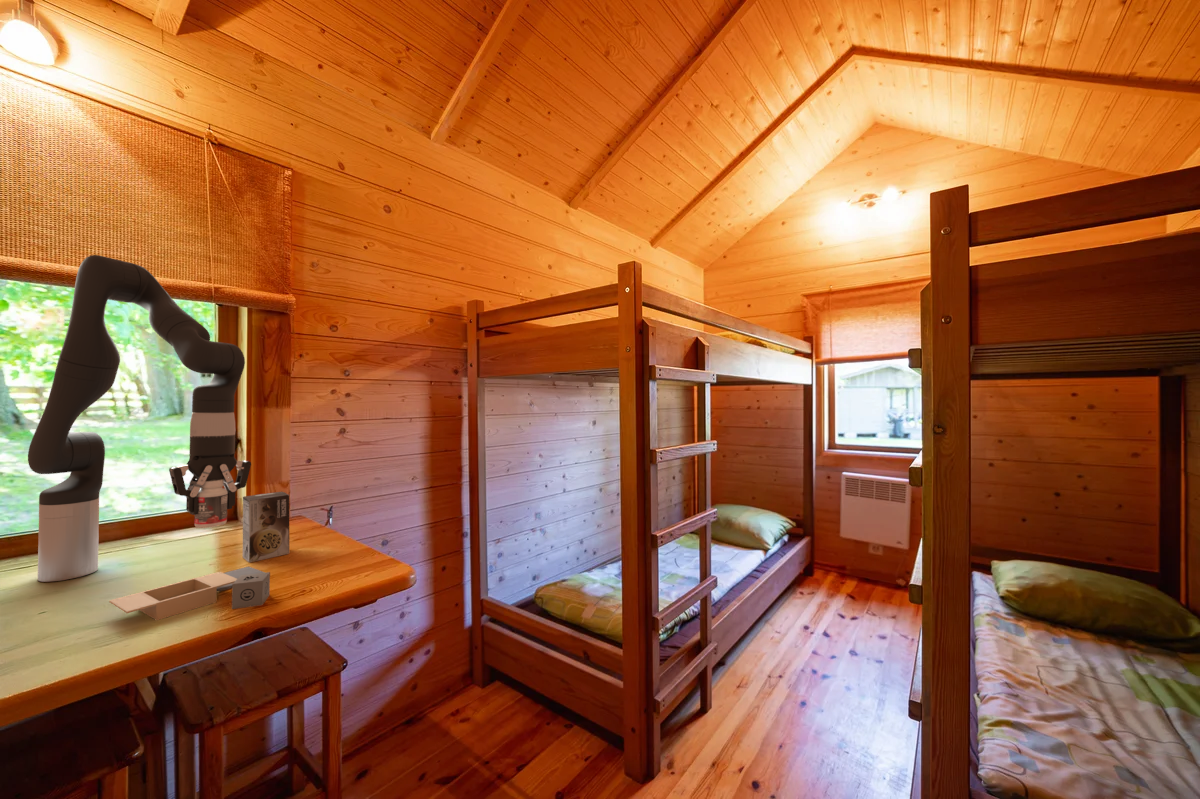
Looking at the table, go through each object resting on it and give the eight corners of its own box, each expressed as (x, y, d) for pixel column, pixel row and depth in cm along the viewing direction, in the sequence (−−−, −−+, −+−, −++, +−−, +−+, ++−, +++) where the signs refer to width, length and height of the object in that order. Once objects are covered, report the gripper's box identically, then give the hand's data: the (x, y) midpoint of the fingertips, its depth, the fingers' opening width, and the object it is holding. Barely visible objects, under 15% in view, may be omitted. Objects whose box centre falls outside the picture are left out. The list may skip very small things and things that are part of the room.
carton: (108, 617, 87) (108, 600, 87) (219, 586, 102) (219, 571, 102) (126, 629, 82) (126, 611, 82) (239, 594, 97) (239, 579, 97)
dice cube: (240, 599, 95) (241, 575, 95) (269, 595, 97) (269, 572, 97) (231, 609, 91) (232, 584, 91) (262, 605, 93) (262, 580, 93)
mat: (197, 582, 103) (197, 580, 103) (248, 568, 112) (248, 566, 112) (217, 591, 98) (217, 589, 98) (269, 576, 107) (269, 574, 107)
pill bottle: (189, 529, 96) (190, 482, 96) (200, 522, 101) (201, 478, 101) (221, 527, 98) (222, 481, 98) (230, 520, 103) (231, 477, 103)
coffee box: (282, 549, 127) (282, 490, 127) (290, 554, 123) (290, 494, 123) (241, 557, 120) (242, 495, 120) (248, 563, 116) (249, 499, 116)
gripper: (244, 431, 108) (242, 503, 108) (162, 434, 95) (160, 515, 95) (259, 432, 104) (257, 507, 104) (176, 436, 91) (174, 521, 91)
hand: (211, 510), depth 100 cm, fingers closed on pill bottle, 5 cm apart
